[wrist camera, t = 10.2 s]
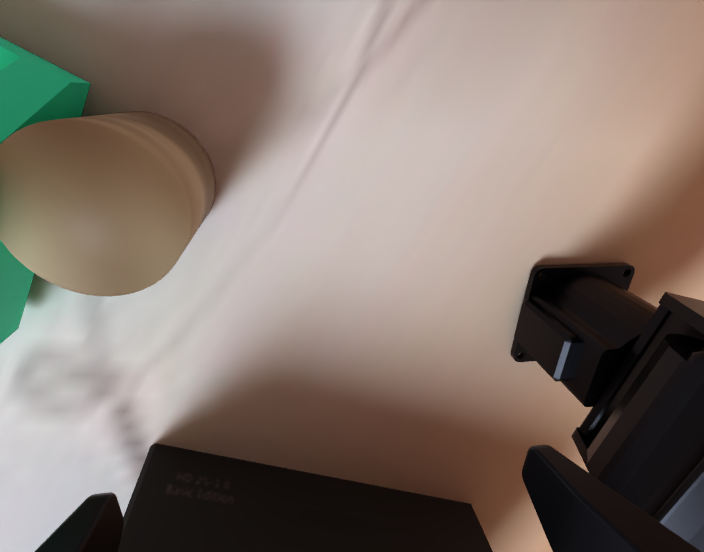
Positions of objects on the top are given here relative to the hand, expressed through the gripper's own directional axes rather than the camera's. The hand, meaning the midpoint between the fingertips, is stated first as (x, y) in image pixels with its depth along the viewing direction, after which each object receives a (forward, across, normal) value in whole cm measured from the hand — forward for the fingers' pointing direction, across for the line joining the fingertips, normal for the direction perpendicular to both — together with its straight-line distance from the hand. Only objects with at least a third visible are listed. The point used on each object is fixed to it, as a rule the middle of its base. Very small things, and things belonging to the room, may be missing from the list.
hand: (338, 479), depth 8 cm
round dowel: (+13, +7, -4) cm, 15 cm away
